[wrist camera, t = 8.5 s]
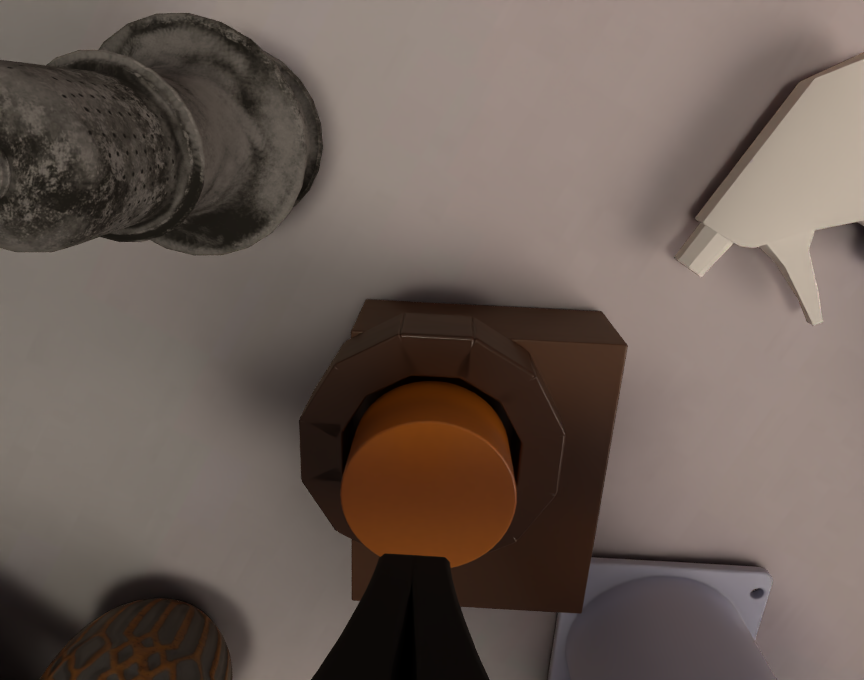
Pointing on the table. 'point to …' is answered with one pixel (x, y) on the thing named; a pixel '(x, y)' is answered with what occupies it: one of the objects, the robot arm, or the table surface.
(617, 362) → the brown button base
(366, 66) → the table surface
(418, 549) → the orange button
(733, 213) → the spray bottle
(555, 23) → the table surface
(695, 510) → the table surface
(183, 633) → the vase
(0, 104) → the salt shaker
